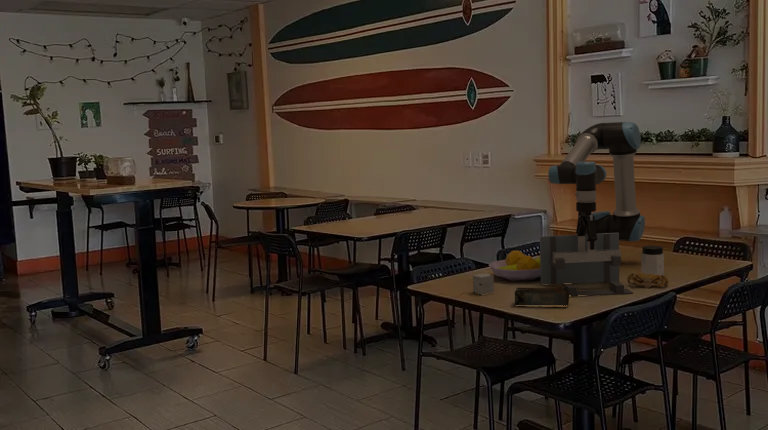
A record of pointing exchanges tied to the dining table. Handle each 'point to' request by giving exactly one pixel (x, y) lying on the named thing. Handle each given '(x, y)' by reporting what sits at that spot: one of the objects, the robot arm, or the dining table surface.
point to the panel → (579, 270)
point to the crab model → (647, 279)
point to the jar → (652, 260)
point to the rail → (586, 255)
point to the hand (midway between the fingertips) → (586, 255)
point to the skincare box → (483, 283)
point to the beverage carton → (542, 296)
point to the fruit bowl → (517, 267)
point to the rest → (614, 290)
